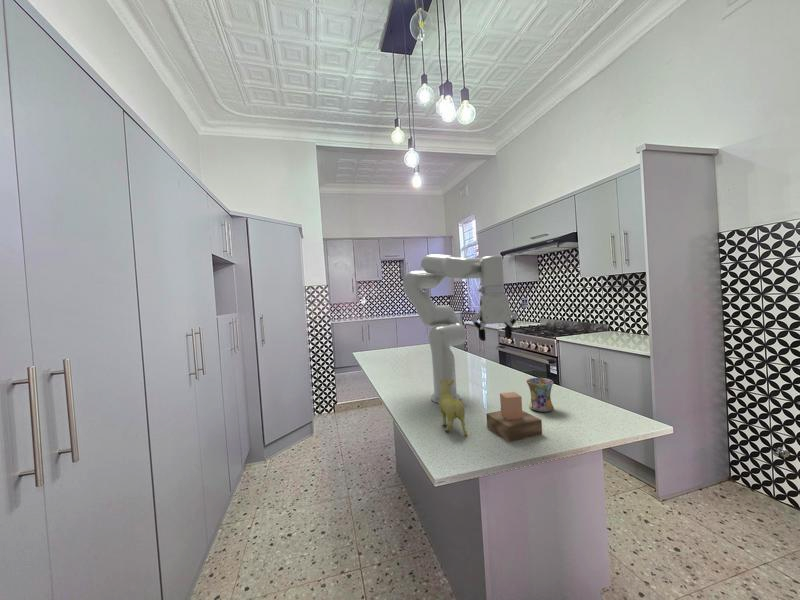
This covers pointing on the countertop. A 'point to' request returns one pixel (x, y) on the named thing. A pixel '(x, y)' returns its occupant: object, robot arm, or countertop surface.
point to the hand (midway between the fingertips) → (495, 339)
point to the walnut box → (514, 426)
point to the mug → (540, 394)
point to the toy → (451, 407)
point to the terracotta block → (511, 405)
